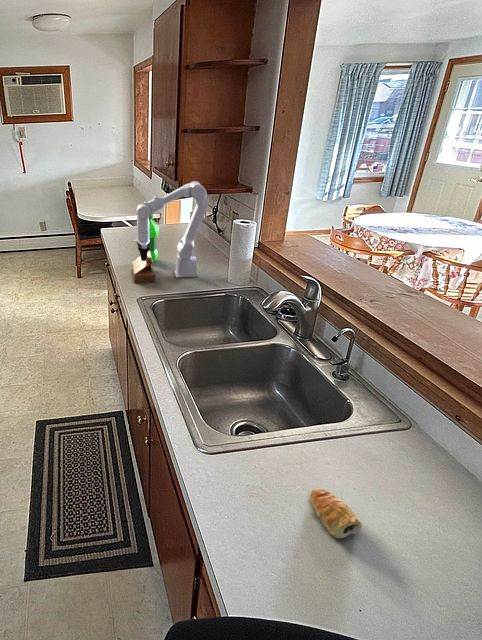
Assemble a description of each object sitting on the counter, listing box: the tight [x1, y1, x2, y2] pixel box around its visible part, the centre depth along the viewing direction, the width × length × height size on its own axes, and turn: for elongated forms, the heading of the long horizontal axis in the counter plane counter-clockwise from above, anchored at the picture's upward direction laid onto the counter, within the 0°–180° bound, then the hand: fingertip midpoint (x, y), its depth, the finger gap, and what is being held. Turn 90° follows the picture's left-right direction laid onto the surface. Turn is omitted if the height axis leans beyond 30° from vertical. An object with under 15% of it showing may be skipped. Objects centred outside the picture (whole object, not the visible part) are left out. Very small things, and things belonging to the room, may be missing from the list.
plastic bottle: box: [139, 213, 160, 262], centre depth 203 cm, size 10×10×25 cm
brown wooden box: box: [132, 263, 156, 284], centre depth 189 cm, size 10×16×4 cm, turn 0°
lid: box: [132, 251, 154, 276], centre depth 186 cm, size 10×16×5 cm
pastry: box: [309, 488, 362, 540], centre depth 77 cm, size 9×7×4 cm
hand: (143, 258), depth 186 cm, fingers closed on lid, 5 cm apart
